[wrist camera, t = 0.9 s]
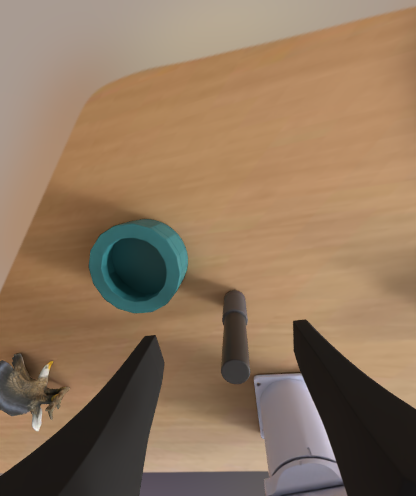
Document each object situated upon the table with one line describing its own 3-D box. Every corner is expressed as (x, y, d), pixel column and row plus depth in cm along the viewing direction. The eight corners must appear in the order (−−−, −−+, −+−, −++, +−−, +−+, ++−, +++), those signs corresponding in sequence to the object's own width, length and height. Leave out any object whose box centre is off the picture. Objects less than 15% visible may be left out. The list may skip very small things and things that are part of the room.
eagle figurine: (78, 364, 29) (2, 341, 28) (41, 434, 25) (-53, 413, 23) (79, 373, 35) (16, 355, 33) (49, 432, 30) (-26, 415, 29)
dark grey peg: (246, 308, 26) (255, 386, 16) (225, 310, 27) (220, 387, 16) (243, 289, 26) (251, 356, 15) (222, 291, 26) (215, 358, 16)
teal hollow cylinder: (194, 291, 27) (186, 309, 23) (121, 298, 28) (102, 316, 24) (180, 213, 25) (169, 217, 21) (102, 224, 26) (78, 231, 22)
